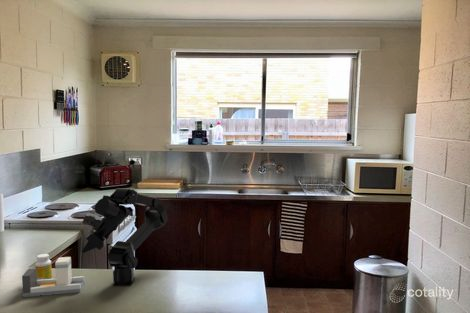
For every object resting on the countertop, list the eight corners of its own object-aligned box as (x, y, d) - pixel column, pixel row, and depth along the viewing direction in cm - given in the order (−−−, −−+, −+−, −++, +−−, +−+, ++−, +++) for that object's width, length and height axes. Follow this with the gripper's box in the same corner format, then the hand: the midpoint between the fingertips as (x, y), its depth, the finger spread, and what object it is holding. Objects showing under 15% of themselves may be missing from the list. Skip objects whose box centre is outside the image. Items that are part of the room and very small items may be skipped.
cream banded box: (72, 280, 140) (70, 256, 139) (68, 286, 135) (67, 261, 134) (60, 281, 139) (58, 257, 138) (56, 287, 134) (55, 262, 133)
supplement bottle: (45, 283, 142) (44, 258, 141) (32, 282, 143) (31, 257, 142) (55, 278, 147) (54, 253, 146) (42, 277, 148) (41, 252, 147)
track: (84, 283, 142) (83, 264, 141) (80, 292, 134) (79, 272, 134) (30, 287, 139) (29, 268, 138) (22, 297, 131) (21, 276, 130)
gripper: (100, 200, 146) (70, 230, 145) (91, 210, 128) (57, 245, 126) (122, 219, 148) (93, 249, 147) (117, 232, 130) (84, 266, 129)
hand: (82, 251), depth 137 cm, fingers closed
